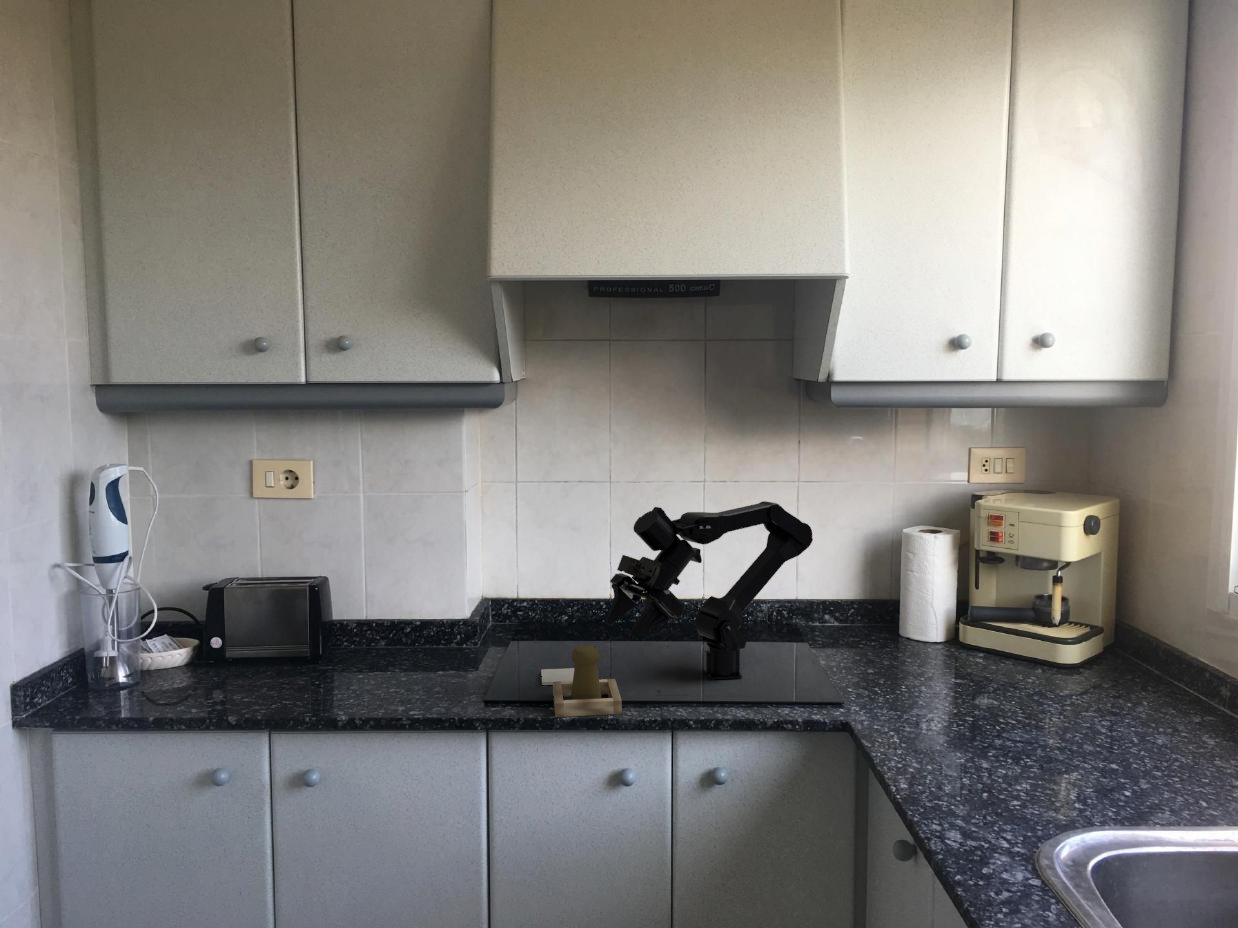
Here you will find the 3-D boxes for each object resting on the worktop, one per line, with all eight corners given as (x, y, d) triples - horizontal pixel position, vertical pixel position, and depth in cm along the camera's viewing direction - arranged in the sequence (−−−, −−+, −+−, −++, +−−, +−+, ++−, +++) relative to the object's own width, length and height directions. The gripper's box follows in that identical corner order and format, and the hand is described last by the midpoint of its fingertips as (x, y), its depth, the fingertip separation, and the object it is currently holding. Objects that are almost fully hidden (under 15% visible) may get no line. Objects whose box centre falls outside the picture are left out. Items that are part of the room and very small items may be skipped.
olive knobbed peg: (601, 709, 165) (601, 651, 164) (569, 709, 165) (568, 651, 164) (603, 698, 171) (602, 641, 170) (571, 698, 171) (570, 641, 170)
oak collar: (614, 691, 175) (614, 678, 175) (621, 713, 163) (621, 700, 163) (553, 694, 174) (552, 681, 173) (555, 716, 162) (555, 703, 162)
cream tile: (579, 671, 187) (579, 667, 187) (582, 684, 179) (582, 680, 179) (541, 673, 186) (541, 669, 186) (542, 686, 178) (542, 682, 178)
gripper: (618, 533, 180) (569, 594, 176) (669, 547, 164) (617, 614, 159) (651, 567, 185) (605, 627, 180) (704, 584, 169) (655, 651, 164)
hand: (619, 629), depth 171 cm, fingers open, 9 cm apart
